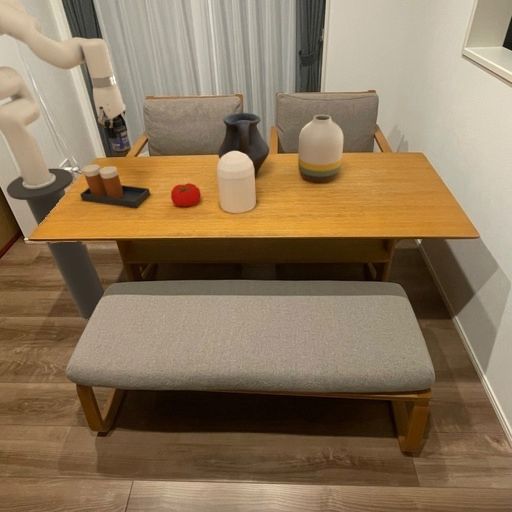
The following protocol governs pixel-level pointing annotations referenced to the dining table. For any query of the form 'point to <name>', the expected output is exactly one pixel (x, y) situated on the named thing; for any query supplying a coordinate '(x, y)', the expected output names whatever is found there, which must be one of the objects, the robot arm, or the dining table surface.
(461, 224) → the dining table surface
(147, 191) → the tray
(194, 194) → the tomato
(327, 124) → the vase
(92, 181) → the amber bottle
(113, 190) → the amber bottle
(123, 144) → the pill bottle
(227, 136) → the pitcher
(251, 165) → the container
